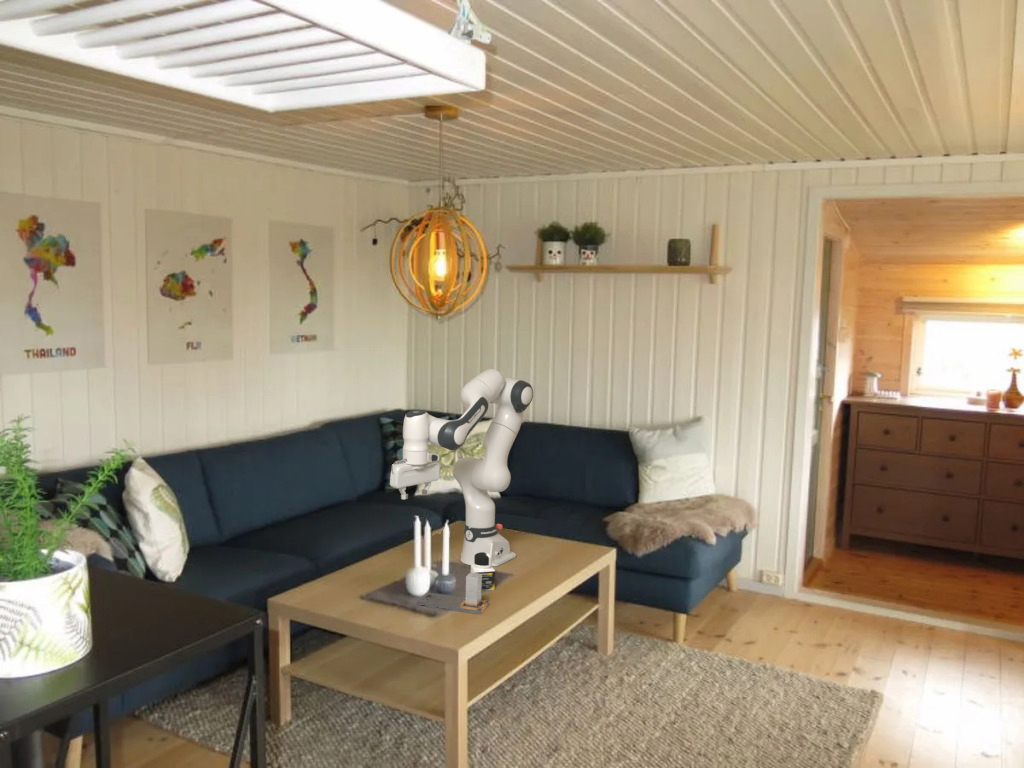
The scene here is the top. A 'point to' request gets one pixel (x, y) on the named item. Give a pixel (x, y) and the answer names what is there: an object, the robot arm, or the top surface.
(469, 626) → the top surface
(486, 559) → the medicine bottle
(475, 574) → the zinc block
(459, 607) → the grey flat board
